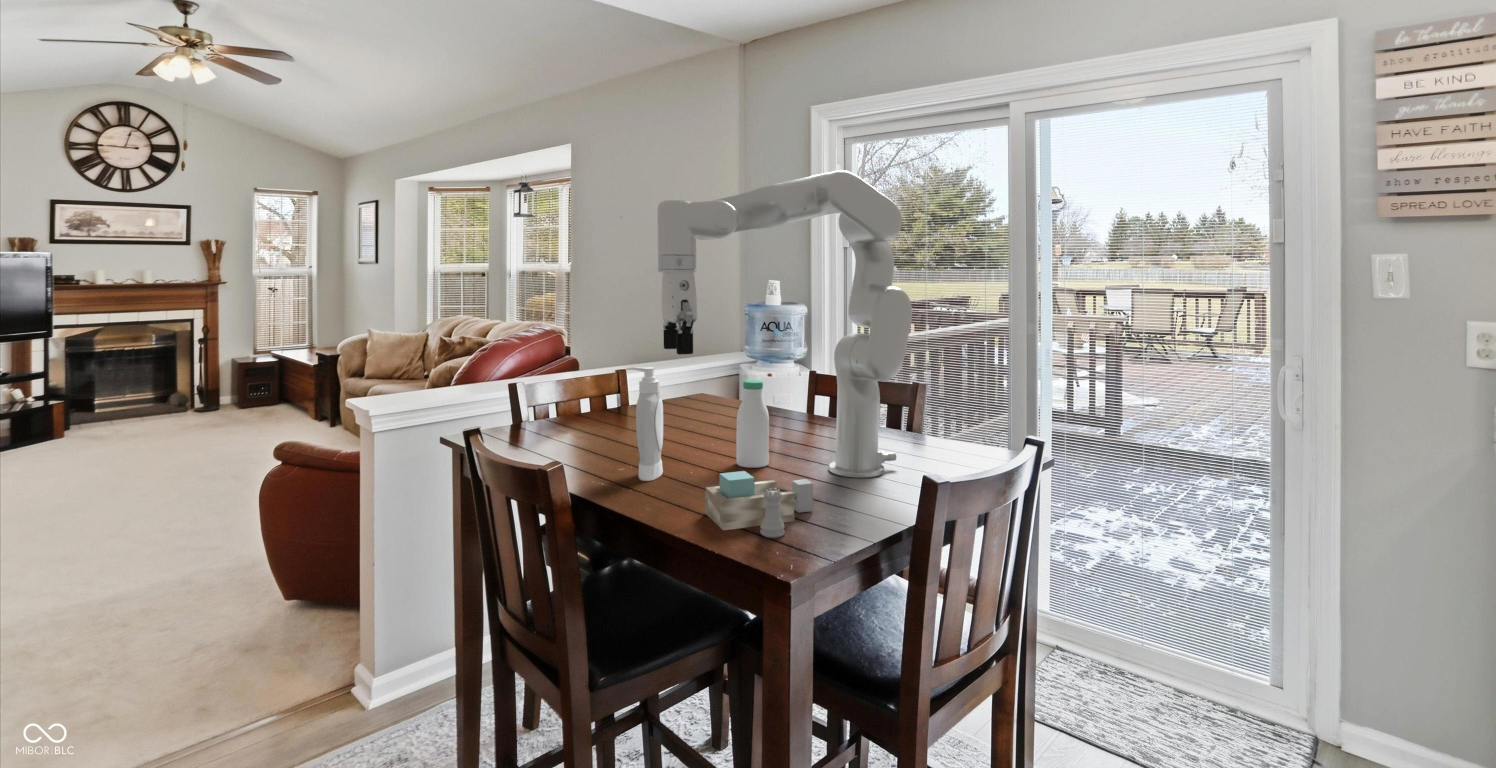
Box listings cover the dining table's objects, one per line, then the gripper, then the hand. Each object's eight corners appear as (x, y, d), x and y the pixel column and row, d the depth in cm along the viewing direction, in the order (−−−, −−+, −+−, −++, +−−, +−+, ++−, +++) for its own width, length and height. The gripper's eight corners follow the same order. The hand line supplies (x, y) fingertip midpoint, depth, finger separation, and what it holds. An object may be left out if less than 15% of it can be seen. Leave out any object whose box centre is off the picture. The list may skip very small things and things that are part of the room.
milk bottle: (769, 468, 176) (769, 383, 173) (735, 468, 176) (736, 383, 173) (768, 460, 184) (769, 378, 181) (736, 460, 184) (737, 378, 181)
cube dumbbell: (803, 504, 149) (804, 464, 148) (814, 512, 145) (815, 471, 144) (719, 515, 143) (719, 473, 142) (728, 523, 138) (728, 480, 137)
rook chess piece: (768, 527, 137) (769, 484, 136) (789, 532, 134) (790, 489, 133) (754, 535, 133) (755, 491, 132) (776, 540, 131) (776, 495, 130)
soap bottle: (635, 466, 177) (634, 363, 174) (668, 468, 177) (667, 363, 173) (620, 482, 165) (618, 371, 161) (655, 483, 164) (654, 371, 160)
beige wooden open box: (772, 505, 150) (772, 479, 149) (794, 520, 141) (794, 493, 140) (705, 513, 145) (705, 487, 144) (723, 530, 135) (723, 502, 135)
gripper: (709, 265, 143) (709, 355, 146) (683, 264, 159) (684, 346, 162) (670, 265, 140) (671, 357, 143) (648, 264, 156) (649, 347, 159)
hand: (678, 351), depth 152 cm, fingers open, 9 cm apart
